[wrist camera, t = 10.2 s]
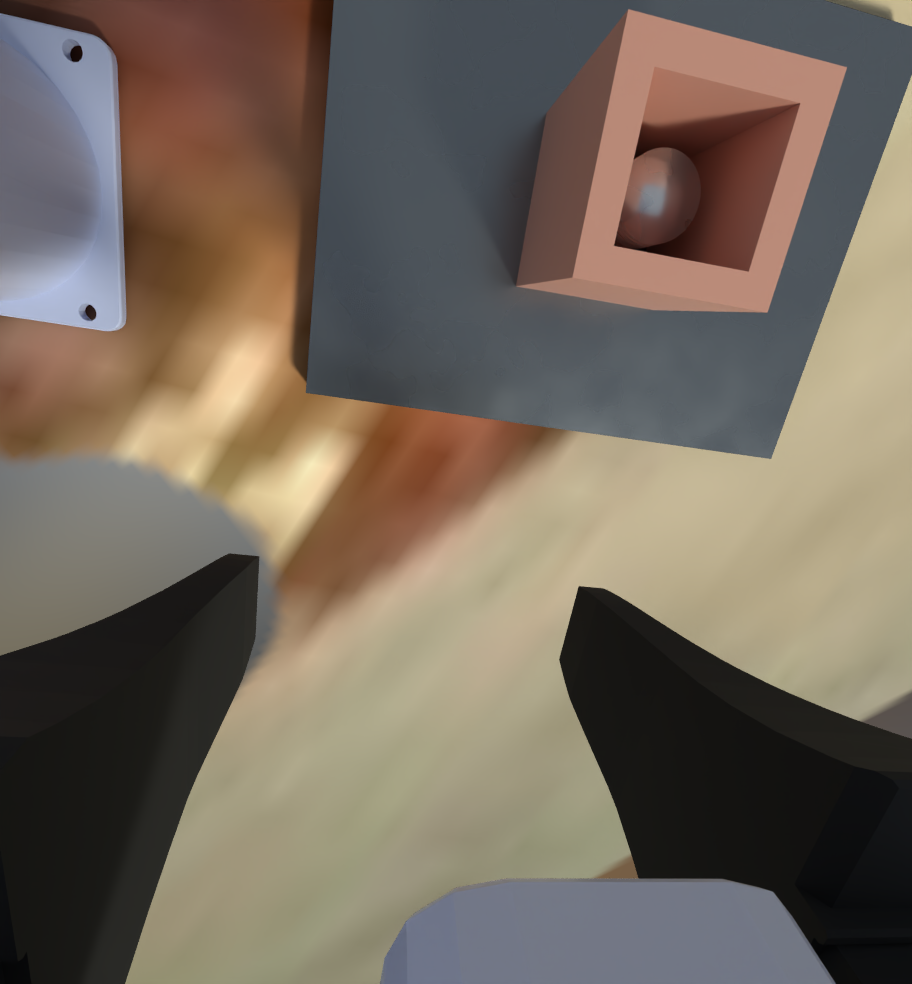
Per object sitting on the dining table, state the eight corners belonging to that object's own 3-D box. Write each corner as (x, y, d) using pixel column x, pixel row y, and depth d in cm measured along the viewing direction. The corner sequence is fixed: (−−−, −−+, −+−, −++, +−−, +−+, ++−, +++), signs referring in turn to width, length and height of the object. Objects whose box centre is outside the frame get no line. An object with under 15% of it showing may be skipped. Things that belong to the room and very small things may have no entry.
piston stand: (310, 388, 19) (282, 415, 14) (347, -116, 15) (324, -314, 10) (754, 452, 22) (853, 492, 17) (898, 45, 17) (1085, -50, 13)
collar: (515, 286, 18) (572, 277, 12) (546, 113, 16) (628, 8, 10) (653, 310, 18) (767, 312, 13) (695, 146, 17) (846, 67, 11)
